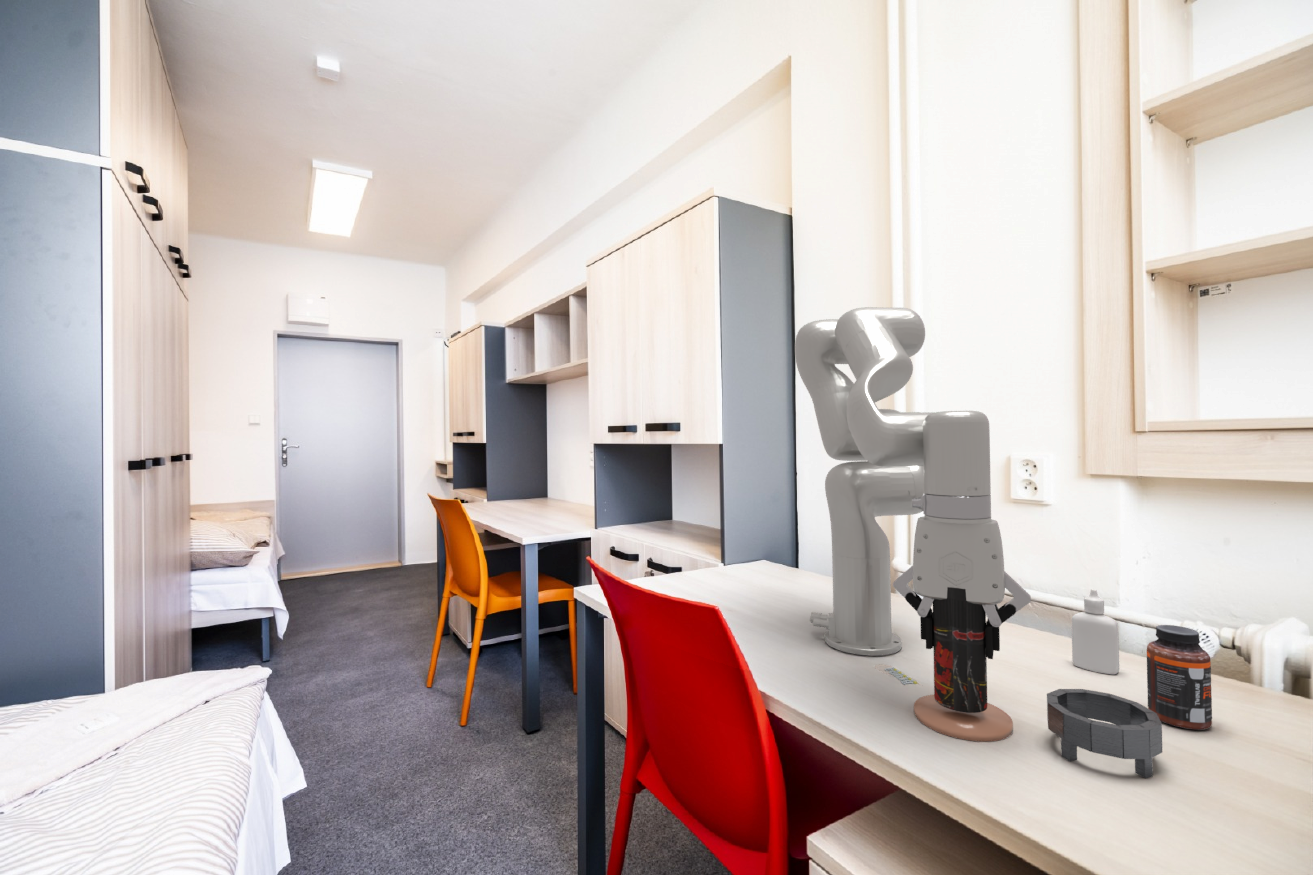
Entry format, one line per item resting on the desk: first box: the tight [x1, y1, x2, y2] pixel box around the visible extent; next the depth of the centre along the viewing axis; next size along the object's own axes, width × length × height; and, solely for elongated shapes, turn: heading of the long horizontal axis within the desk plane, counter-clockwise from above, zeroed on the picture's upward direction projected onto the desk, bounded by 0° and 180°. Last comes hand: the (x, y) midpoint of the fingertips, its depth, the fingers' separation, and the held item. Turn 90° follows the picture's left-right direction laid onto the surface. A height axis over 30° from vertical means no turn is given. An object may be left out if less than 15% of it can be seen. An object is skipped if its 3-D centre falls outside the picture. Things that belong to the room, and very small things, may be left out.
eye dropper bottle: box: [1071, 588, 1120, 675], centre depth 89 cm, size 4×6×12 cm
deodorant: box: [932, 587, 988, 713], centre depth 73 cm, size 6×6×15 cm
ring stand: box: [1046, 688, 1163, 779], centre depth 65 cm, size 10×10×5 cm
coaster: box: [913, 693, 1014, 743], centre depth 73 cm, size 11×11×1 cm
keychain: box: [874, 663, 923, 687], centre depth 86 cm, size 10×1×3 cm
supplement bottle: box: [1146, 624, 1213, 731], centre depth 72 cm, size 6×6×11 cm
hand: (959, 649), depth 73 cm, fingers open, 6 cm apart
